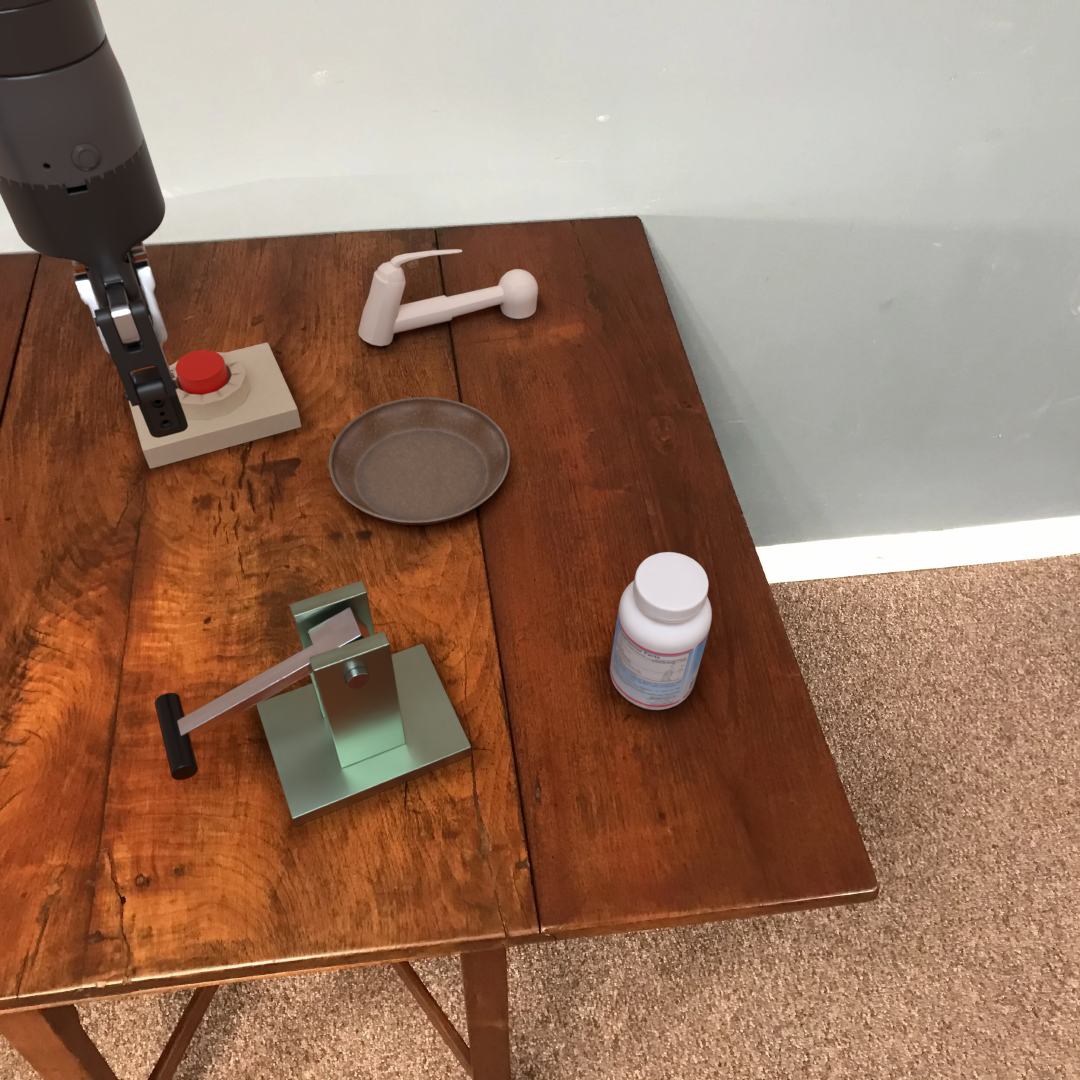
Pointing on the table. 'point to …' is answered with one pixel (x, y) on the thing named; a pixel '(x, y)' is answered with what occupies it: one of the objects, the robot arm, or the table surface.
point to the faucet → (437, 300)
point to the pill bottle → (661, 631)
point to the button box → (226, 410)
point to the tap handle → (246, 693)
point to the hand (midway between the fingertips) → (158, 387)
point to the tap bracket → (357, 716)
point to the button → (202, 372)
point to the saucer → (419, 460)
